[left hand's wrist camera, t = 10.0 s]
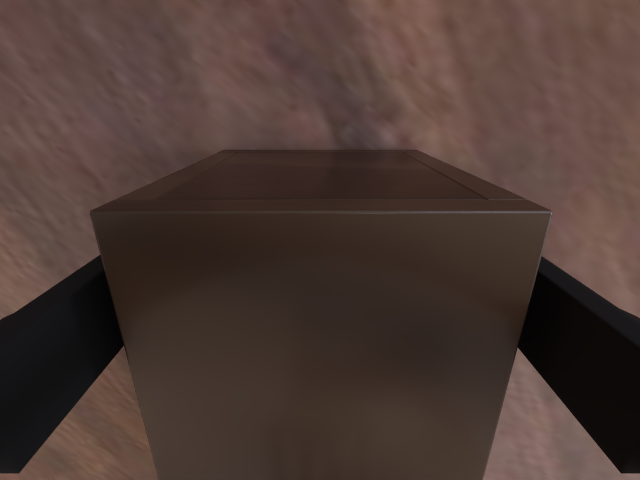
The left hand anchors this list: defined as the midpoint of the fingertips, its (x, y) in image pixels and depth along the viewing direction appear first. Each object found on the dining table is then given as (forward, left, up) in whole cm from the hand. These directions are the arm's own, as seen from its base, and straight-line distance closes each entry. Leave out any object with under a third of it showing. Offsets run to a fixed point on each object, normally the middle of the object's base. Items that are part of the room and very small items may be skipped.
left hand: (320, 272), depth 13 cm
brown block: (+6, -3, -7) cm, 10 cm away
